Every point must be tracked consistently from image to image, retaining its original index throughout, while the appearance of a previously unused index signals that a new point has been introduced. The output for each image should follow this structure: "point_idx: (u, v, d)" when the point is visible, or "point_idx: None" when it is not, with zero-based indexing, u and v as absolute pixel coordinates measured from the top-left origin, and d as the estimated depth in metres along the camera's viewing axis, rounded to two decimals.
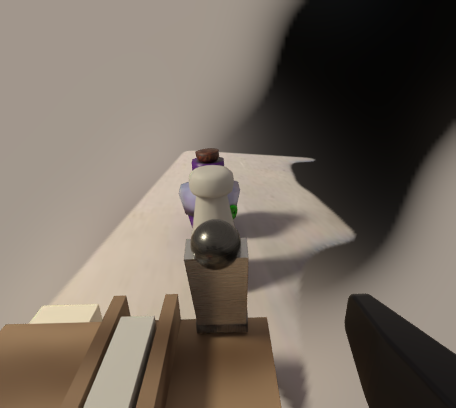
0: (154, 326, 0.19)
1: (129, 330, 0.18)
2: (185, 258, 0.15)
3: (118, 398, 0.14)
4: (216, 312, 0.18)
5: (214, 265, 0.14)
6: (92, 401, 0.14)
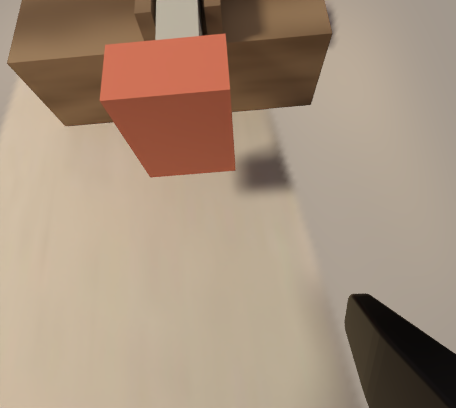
0: None
1: None
2: None
3: None
4: None
5: None
6: None
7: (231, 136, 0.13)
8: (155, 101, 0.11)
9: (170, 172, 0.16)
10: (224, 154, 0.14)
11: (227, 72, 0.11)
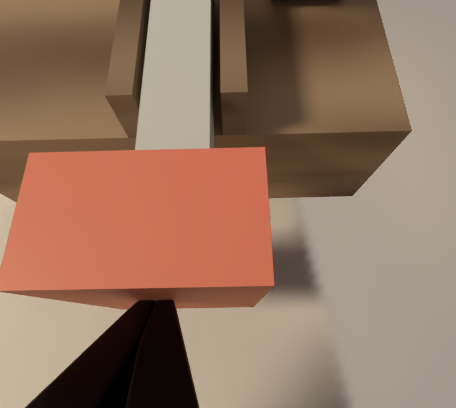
0: None
1: None
2: None
3: (192, 35, 0.10)
4: None
5: None
6: (156, 39, 0.10)
7: (257, 300, 0.07)
8: (116, 290, 0.05)
9: None
10: (240, 304, 0.09)
11: (268, 241, 0.05)
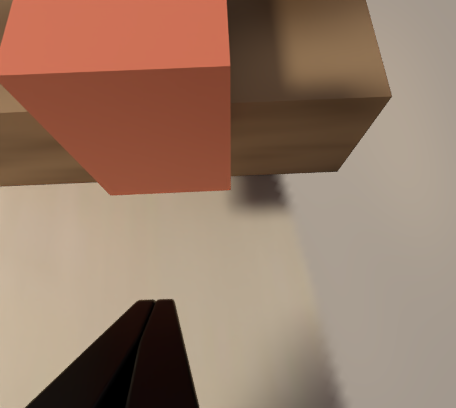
0: None
1: None
2: None
3: None
4: None
5: None
6: None
7: (227, 145, 0.08)
8: (96, 82, 0.06)
9: (138, 189, 0.11)
10: (215, 169, 0.10)
11: (226, 36, 0.06)
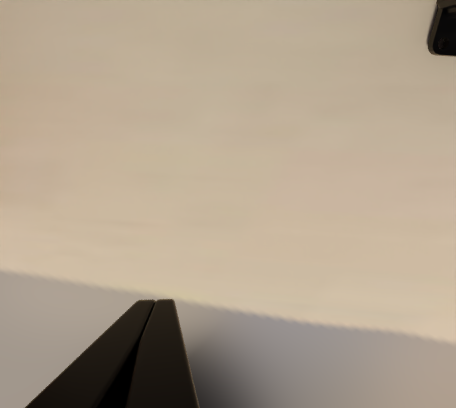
0: None
1: None
2: None
3: None
4: None
5: None
6: None
7: None
8: None
9: None
10: None
11: None
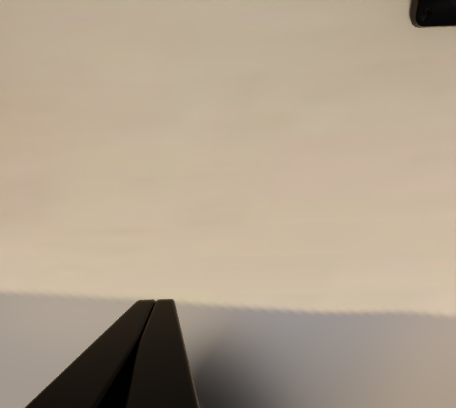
0: None
1: None
2: None
3: None
4: None
5: None
6: None
7: None
8: None
9: None
10: None
11: None
